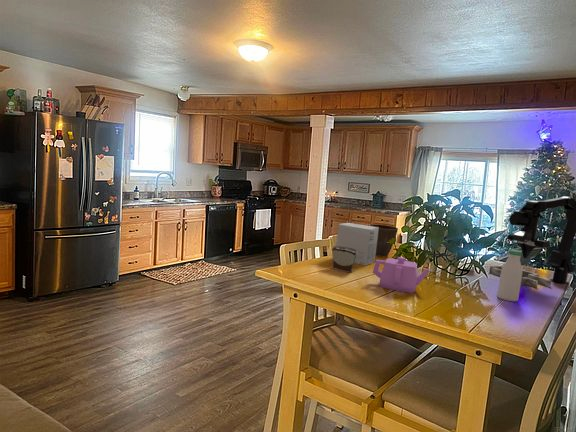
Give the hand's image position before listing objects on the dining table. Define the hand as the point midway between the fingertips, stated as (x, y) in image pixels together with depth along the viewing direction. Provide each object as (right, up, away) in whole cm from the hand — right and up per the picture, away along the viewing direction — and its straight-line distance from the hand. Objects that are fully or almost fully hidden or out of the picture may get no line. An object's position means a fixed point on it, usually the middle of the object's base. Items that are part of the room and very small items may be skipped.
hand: (524, 258), depth 205 cm
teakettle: (-70, -9, -34) cm, 79 cm away
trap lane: (-2, -11, +3) cm, 11 cm away
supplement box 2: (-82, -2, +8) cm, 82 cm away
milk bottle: (-27, -13, -35) cm, 46 cm away
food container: (-90, -4, -13) cm, 91 cm away
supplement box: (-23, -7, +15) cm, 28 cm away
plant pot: (-64, -1, +29) cm, 70 cm away
